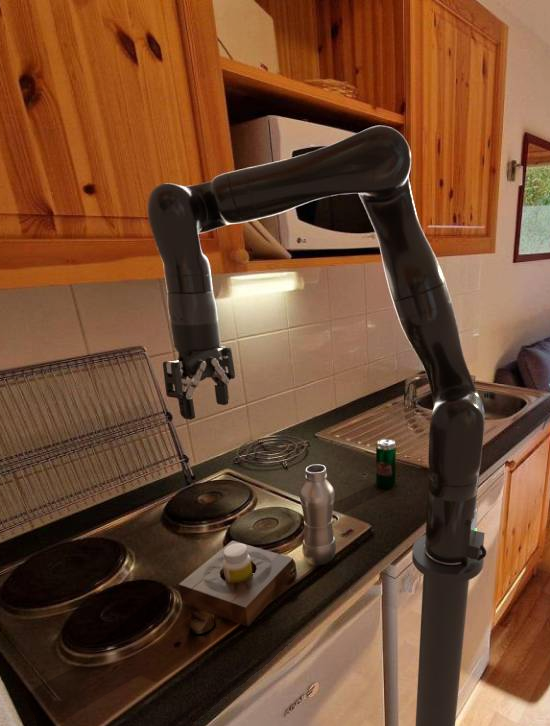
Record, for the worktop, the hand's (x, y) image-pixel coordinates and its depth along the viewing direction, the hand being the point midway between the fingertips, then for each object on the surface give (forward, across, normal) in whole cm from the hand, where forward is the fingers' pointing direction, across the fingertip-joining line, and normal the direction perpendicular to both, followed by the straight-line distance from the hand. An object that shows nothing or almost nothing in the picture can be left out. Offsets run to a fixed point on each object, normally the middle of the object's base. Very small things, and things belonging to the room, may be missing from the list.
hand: (206, 411), depth 86 cm
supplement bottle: (+30, -8, -10) cm, 33 cm away
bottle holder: (+30, -8, -10) cm, 33 cm away
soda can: (+30, +39, -19) cm, 53 cm away
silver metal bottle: (+30, +5, -19) cm, 36 cm away
